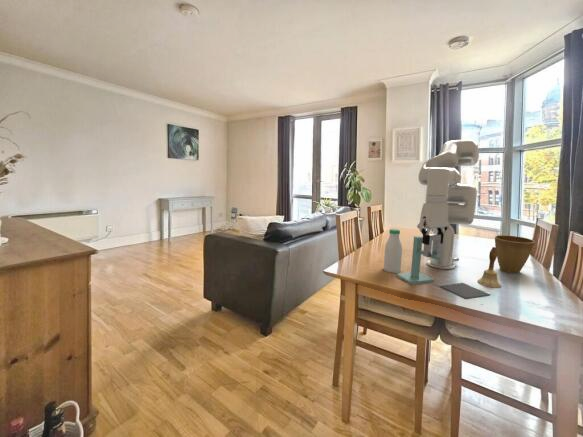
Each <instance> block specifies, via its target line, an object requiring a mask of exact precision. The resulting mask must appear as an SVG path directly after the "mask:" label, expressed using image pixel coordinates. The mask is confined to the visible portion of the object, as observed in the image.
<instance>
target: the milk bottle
mask: <svg viewBox="0 0 583 437" xmlns="http://www.w3.org/2000/svg"><path fill="white" fill-rule="evenodd" d="M388 234H389V237H388V239H387V241H386V243H385V246H384V256H383V257H384V258H383V261H384V262H383V270H384V271H385V272H386V273H393V274H394V273H395V274H399V273H400V272H401V269H402V260H403V259H402V256H403V255H402V254H403V246H402V242H401V240H400V234H401V230H400V229H397V228H391V229H389V233H388Z"/></svg>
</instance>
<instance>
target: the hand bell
mask: <svg viewBox="0 0 583 437" xmlns="http://www.w3.org/2000/svg"><path fill="white" fill-rule="evenodd" d="M488 257H489V265H488V269H485V270H484V271H483V274H482V276H481V277H480V278H479V279H478V280H477V283H478V284H480V285H482V286H485V287H490V288H502V284H501V282H499V280H498V279H499V278H498V273H497V271H495V270H494V267H495V262H496V260H497V250H496V247H495V246H492V248H491V249H490V251H489V256H488Z"/></svg>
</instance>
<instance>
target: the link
mask: <svg viewBox="0 0 583 437" xmlns="http://www.w3.org/2000/svg"><path fill="white" fill-rule="evenodd" d="M429 235H430V242H429V245H426V244H423V249H422V250H423V255H422V256H423V257H426V258H430V257H431V250H432V254H435V255H438V256H440V247H441V234H437V233H435V234H433V233H429ZM432 240H433V249H432Z"/></svg>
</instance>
